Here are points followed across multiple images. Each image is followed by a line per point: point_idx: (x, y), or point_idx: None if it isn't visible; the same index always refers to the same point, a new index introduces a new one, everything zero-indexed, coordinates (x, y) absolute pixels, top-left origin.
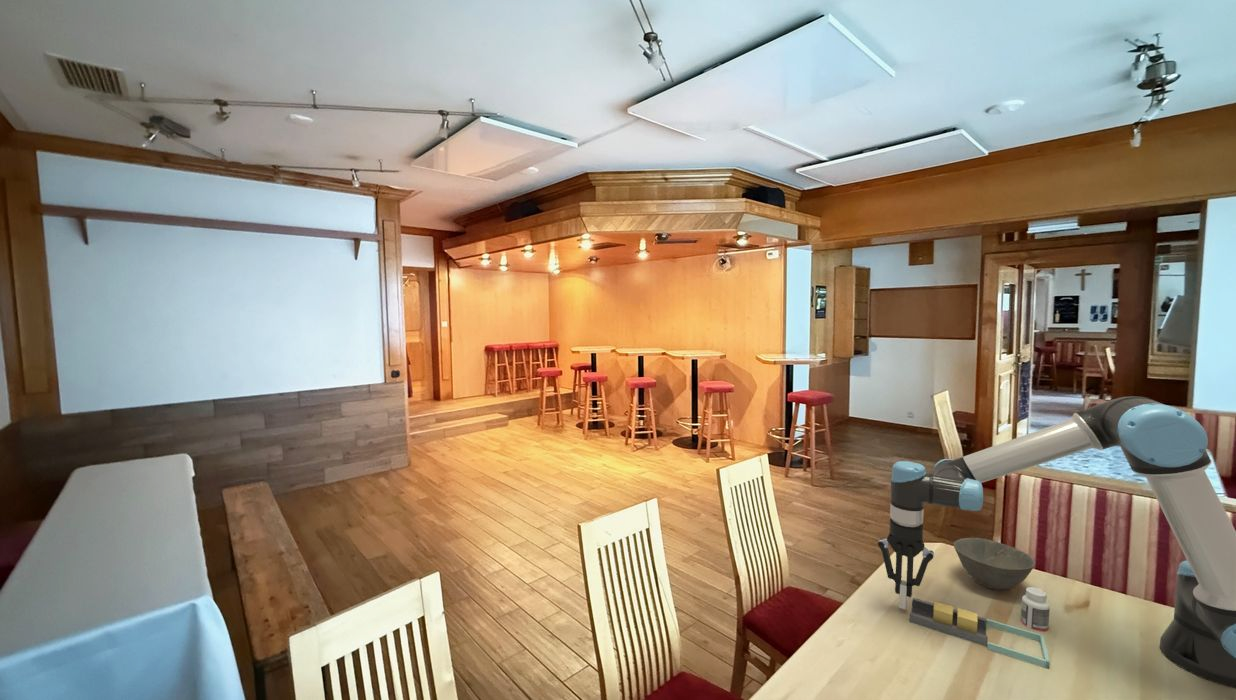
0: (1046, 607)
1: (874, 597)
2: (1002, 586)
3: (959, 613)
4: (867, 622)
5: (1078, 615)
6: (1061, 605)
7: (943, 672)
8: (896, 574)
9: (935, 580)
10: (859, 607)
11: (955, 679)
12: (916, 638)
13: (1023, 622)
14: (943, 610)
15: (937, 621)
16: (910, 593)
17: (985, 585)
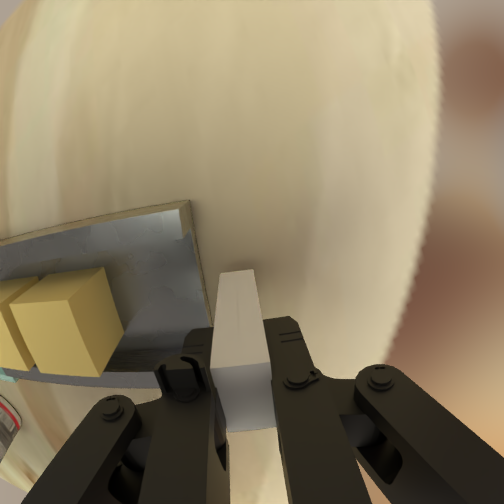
0: None
1: (365, 321)
2: None
3: (4, 332)
4: (354, 95)
5: (14, 457)
6: (37, 474)
7: (53, 14)
8: (333, 433)
9: None
10: (407, 198)
11: (29, 18)
12: (141, 119)
13: (2, 409)
14: (39, 317)
15: (61, 247)
16: (190, 346)
17: None
